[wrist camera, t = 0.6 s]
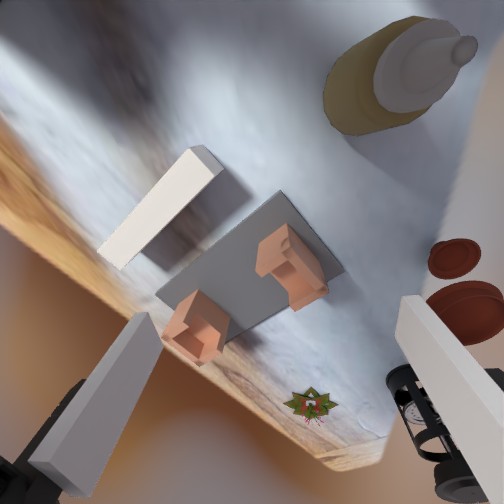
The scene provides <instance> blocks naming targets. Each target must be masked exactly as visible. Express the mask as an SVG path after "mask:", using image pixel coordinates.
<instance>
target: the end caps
mask: <svg viewBox="0 0 504 504" xmlns="http://www.w3.org/2000/svg"><path fill="white" fill-rule="evenodd" d="M343 272H345V271H344V269H343V267H342V266H341V265H340V263H339V262H338V261H337V260H336V258H335V257H334V256H333V255H332V254H331V252H330V251H329V250H328V249H327V247H326V246H325V245H324V244H323V242H322V241H321V240H320V239H319V237H318V236H317V235H316V234H315V233H314V231H313V230H312V229H311V228H310V226H309V225H308V224H307V223H306V221H305V220H304V219H303V218H302V216H301V215H300V214H299V213H298V212H297V210H296V209H295V208H294V207H293V205H292V204H291V203H290V202H289V200H288V199H287V198H286V197H285V195H284V194H283V193H282V192H281V191H280V190H279V191H278V192H277V193H276V194H274V195H273V196H272V197H271V198H270V199H268V200H267V201H266V202H265V203H263V204H262V205H261V206H260V207H259V208H257V209H256V210H255V211H254V212H253V213H251V214H250V215H249V216H248V217H246V218H245V219H244V220H243V221H242V222H240V223H239V224H238V225H237V226H236V227H234V228H233V229H232V230H231V231H229V232H228V233H227V234H226V235H225V236H223V237H222V238H221V239H220V240H219V241H217V242H216V243H215V244H214V245H212V246H211V247H210V248H209V249H208V250H206V251H205V252H204V253H203V254H202V255H200V256H199V257H198V258H197V259H195V260H194V261H193V262H192V263H191V264H189V265H188V266H187V267H186V268H185V269H183V270H182V271H181V272H180V273H178V274H177V275H176V276H175V277H174V278H172V279H171V280H170V281H169V282H168V283H166V284H165V285H164V286H163V287H162V288H160V289H159V290H158V291H157V292H156V294H155V295H156V296H157V297H158V298H159V299H161V300H162V301H163V302H164V303H166V304H167V305H168V306H169V307H170V308H172V309H173V310H174V311H175V312H174V314H173V315H172V317H171V319H170V321H169V323H168V325H167V326H166V328H165V330H164V332H163V334H162V336H161V338H162V339H163V340H164V341H166V342H167V343H168V344H170V345H171V346H172V347H174V348H175V349H176V350H178V351H179V352H180V353H182V354H183V355H184V356H186V357H187V358H188V359H190V360H191V361H192V362H194V363H195V364H196V365H198V366H199V367H200V366H201V365H203V364H205V363H207V362H208V361H210V360H212V359H214V358H215V357H217V356H219V355H221V354H222V352H223V348H224V344H225V342H227V341H228V340H230V339H232V338H233V337H235V336H237V335H238V334H240V333H242V332H244V331H245V330H247V329H249V328H250V327H252V326H254V325H255V324H257V323H259V322H260V321H262V320H264V319H265V318H267V317H269V316H270V315H272V314H274V313H276V312H277V311H279V310H281V309H282V308H284V307H286V306H287V305H289V306H290V307H291V308H292V309H293V310H294V311H295V312H296V311H297V310H299V309H301V308H303V307H304V306H306V305H308V304H310V303H311V302H313V301H315V300H317V299H318V298H320V297H322V296H324V295H325V294H327V293H329V289H328V286H327V283H326V282H328V281H329V280H331V279H333V278H334V277H336V276H338V275H340V274H341V273H343Z"/></svg>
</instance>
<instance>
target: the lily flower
mask: <svg viewBox="0 0 504 504" xmlns="http://www.w3.org/2000/svg"><path fill="white" fill-rule="evenodd" d="M310 392H311V393H312V395H313V396H314V397H315V398H311V399H310V398H308V397H307V396H308V395H309V394H310ZM292 393H293V392H292ZM329 394H330V393H328V394H326V395H323V396H320V397H319V395H318V394H317V392H316V391H315V390H313V389H312V387H311V388H310V389H309V390H308V391H306V392H305V393H304V395H303V397H302V396H300V395H297V394H295V393H293V397H294V400H293V401H290V402H287V403H283V404H285V405H287V406H288V407H290V408H294V409H295V411H294V413H293V414H297V415H302V417H303V416H305V417H306V418H308V419H307V420H306V419H305V420H306V422H307V421H308V420H309V421H310V419H312V418H315V417H316V418H317V416H323V415H328V412H327V410H326V409H331V408H333V407H335V406H337V405H338V404H335V403H332V402H330V401H328V399H329ZM307 400H313V401H315V402H316V405H315V406H312V404H311V403H309V406H306V401H307ZM327 403H328V404H327ZM325 404H327V405H325ZM322 405H323V406H322ZM318 418H319V417H318ZM318 418H317V419H318ZM319 419H321V417H320V418H319ZM319 419H318V420H319ZM315 420H316V419H315ZM316 422H317V421H316ZM321 422H323V421H321ZM312 423H313V422H312ZM323 423H324V422H323ZM308 424H309V422H308ZM318 425H319V424H318ZM319 426H320V425H319Z"/></svg>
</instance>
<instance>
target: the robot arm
mask: <svg viewBox="0 0 504 504" xmlns="http://www.w3.org/2000/svg"><path fill="white" fill-rule="evenodd" d="M0 1H1V0H0ZM394 337H395V339H396V341H397V342H398V344H399V346H400V347H401V349H402V351H403V353H404V354H405V356H406V358H407V360H408V361H409V363H410V365H411V367H412V368H413V370H414V372H415V373H416V375H417V377H418V379H419V380H420V382H421V384H422V386H423V387H424V389H425V391H426V392H427V394H428V396H429V398H430V399H431V401H432V403H433V405H434V406H435V408H436V410H437V412H438V413H439V415H440V417H441V418H442V420H443V422H444V424H445V425H446V427H447V429H448V431H449V432H450V434H451V436H452V437H453V439H454V441H455V443H456V444H457V446H458V448H459V450H460V451H461V453H462V455H463V457H464V458H465V460H466V462H467V463H468V465H469V467H470V469H471V470H472V472H473V474H474V476H475V477H476V479H477V481H478V482H479V484H480V486H481V488H482V489H483V491H484V493H485V495H486V496H487V498H488V500H489V502H490V503H491V504H504V372H503V371H502V370H500V369H499V368H495V369H483V368H482V367H481V366H480V365H479V363H478V362H477V361H476V360H475V359H474V358H473V357H472V355H471V354H470V353H469V352H468V351H467V349H466V348H464V346H463V345H462V344H461V343H460V341H459V340H458V339H457V338H456V337H455V336H454V334H453V333H452V332H451V331H450V330H449V329H448V328H447V326H446V325H445V324H444V323H443V322H442V321H441V319H440V318H439V317H438V316H437V315H436V314H435V313H434V311H433V310H432V309H431V308H430V307H429V306H428V304H427V303H426V302H425V301H424V300H423V299H422V298H421V296H420V295H407V296H402V298H401V303H400V309H399V314H398V320H397V325H396V331H395V336H394ZM163 347H164V346H163V344H162V342H161V340H160V337H159V335H158V333H157V331H156V329H155V326H154V324H153V322H152V320H151V318H150V315H149V313H148V312H142V313H135V314H134V315H133V317H132V318H131V320H130V321H129V322H128V324H127V325H126V326H125V328H124V329H123V331H122V332H121V333H120V335H119V336H118V338H117V339H116V340H115V342H114V343H113V344H112V346H111V347H110V348H109V350H108V351H107V353H106V354H105V355H104V357H103V358H102V359H101V361H100V362H99V363H98V365H97V366H96V368H95V369H94V371H93V372H92V373H91V375H90V376H89V377H88V379H82V380H81V381H79V382H78V383H77V384H76V385H75V386H74V387H73V388H72V389H71V390H70V391H69V392H68V393H67V394H66V396H65V397H64V398H63V400H62V401H61V402H60V405H59V406H57V407H56V409H55V410H54V411H53V413H52V414H51V417H49V418H48V419H47V421H46V422H45V423H44V424H43V426H42V427H41V428H40V430H39V431H38V432H37V434H36V435H35V436H34V438H33V439H32V440H31V441H30V443H29V444H28V445H27V447H26V448H25V449H24V451H23V452H22V453H21V455H20V456H19V457H18V458H17V460H16V461H15V462H14V463H13V464H11V463H10V462H8V461H7V460H6V459H4V458H3V457H1V456H0V504H60V503H59V500H58V498H59V496H60V494H61V492H62V491H65V492H66V493H67V494H68V495H69V496H71V497H83V498H90V496H91V494H92V492H93V490H94V488H95V486H96V484H97V482H98V480H99V478H100V476H101V474H102V472H103V470H104V467H105V466H106V463H107V461H108V459H109V458H110V455H111V453H112V451H113V449H114V447H115V445H116V443H117V441H118V439H119V437H120V435H121V433H122V431H123V429H124V427H125V425H126V423H127V420H128V419H129V417H130V414H131V412H132V410H133V408H134V406H135V404H136V402H137V400H138V398H139V396H140V394H141V392H142V390H143V388H144V386H145V384H146V382H147V380H148V378H149V376H150V374H151V372H152V370H153V368H154V366H155V364H156V361H157V359H158V357H159V355H160V353H161V351H162V349H163Z"/></svg>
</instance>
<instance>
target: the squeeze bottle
mask: <svg viewBox="0 0 504 504" xmlns="http://www.w3.org/2000/svg"><path fill="white" fill-rule="evenodd" d="M477 46H478V44H477V40H476V39H475V38H474V37H473V36H460V33H459V31H458V30H457V29H456V28H455V27H454V26H453V25H451V24H450V23H449V22H448V21H444V20H438V19H433V18H432V19H430V18H424V17H418V16H411V17H408V18H405V19H402V20H399V21H396V22H393V23H391V24H389V25H388V26H386V27H384V28H383V29H381V30H379V31H378V32H376V33H374V34H373V35H371V36H369V37H368V38H366V39H364V40H363V41H361V42H359V43H358V44H356V45H354V46H353V47H352V48H350V49H349V50H348V51H347V52H346V53H344V54H343V55H342V56H341V57H340V58H338V60H337V61H336V63H335V65H334V66H333V68H332V69H331V71H330V73H329V74H328V76H327V80H326V84H325V88H324V92H323V101H324V111H325V114H326V115H327V117H328V119H329V121H330V123H331V125H332V126H333V127H335V128H336V129H337V130H339V131H340V132H341V133H343V134H347V135H353V136H360V135H364V134H368V133H372V132H376V131H380V130H384V129H388V128H392V127H396V126H400V125H404V124H408V123H410V122H412V121H413V120H415V119H416V118H418V117H419V116H421V115H422V114H424V113H425V112H427V110H428V109H429V108H430V107H431V106H432V104H433V103H435V102H436V101H438V100H439V99H441V98H442V96H443V95H444V94H445V93H446V92H447V91H448V89H449V88H450V87H451V86H452V85H453V83H454V81H455V79H456V77H457V74H458V72H459V70H460V68H461V67H462V66H464V65H465V64H467V63H468V62H470V61H471V59H472V58H473V57H474V56H475V53H476V51H477Z"/></svg>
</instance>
